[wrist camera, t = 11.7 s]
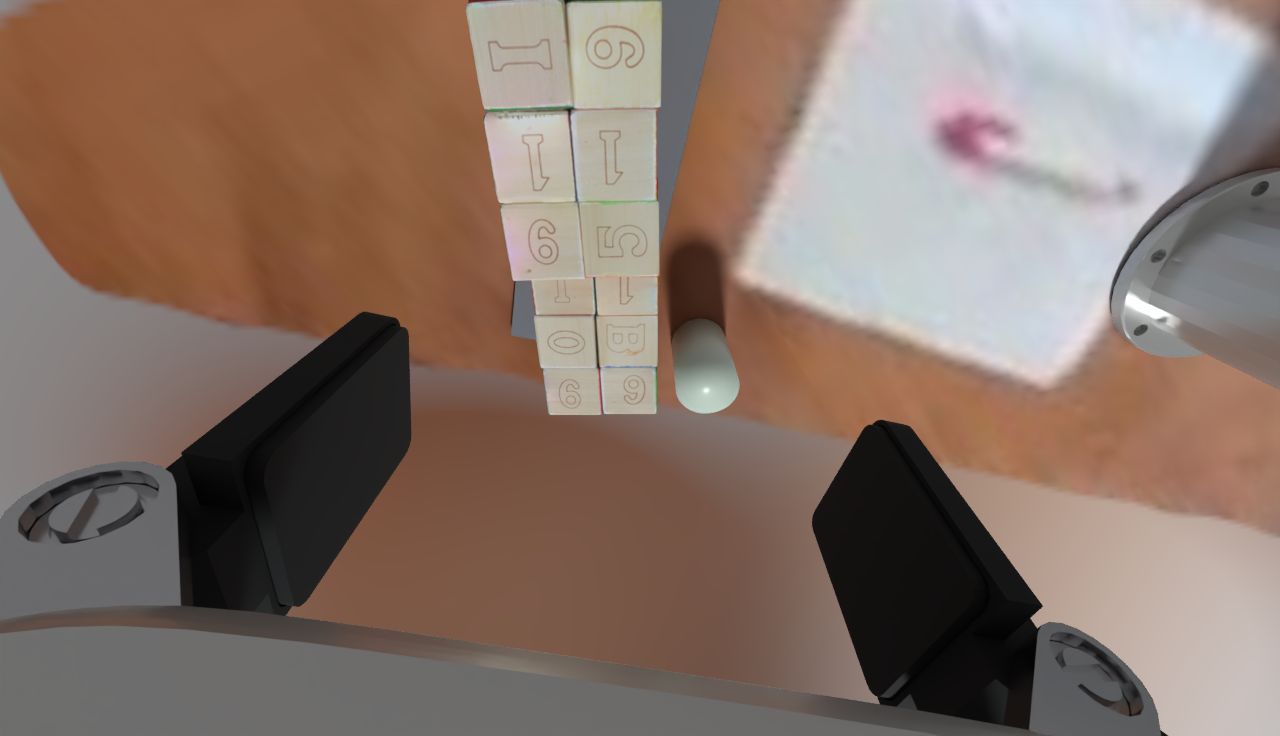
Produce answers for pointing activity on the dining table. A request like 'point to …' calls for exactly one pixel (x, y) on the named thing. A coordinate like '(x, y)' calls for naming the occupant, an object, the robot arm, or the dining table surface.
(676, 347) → the mint green capsule
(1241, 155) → the dining table surface
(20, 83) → the dining table surface
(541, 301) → the stack of blocks
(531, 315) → the mat
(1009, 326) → the dining table surface
